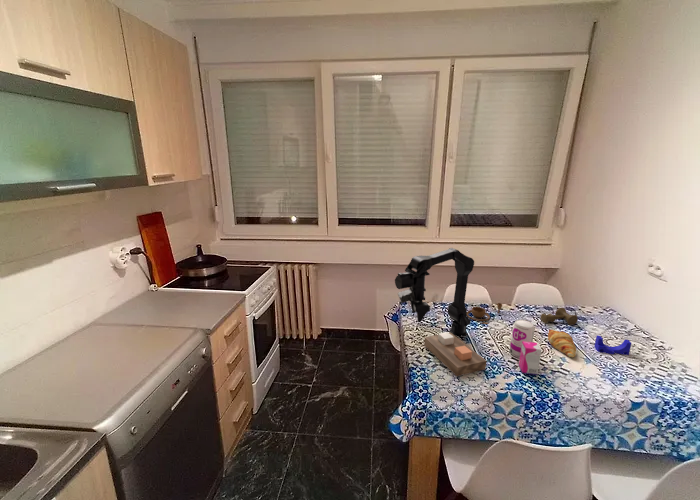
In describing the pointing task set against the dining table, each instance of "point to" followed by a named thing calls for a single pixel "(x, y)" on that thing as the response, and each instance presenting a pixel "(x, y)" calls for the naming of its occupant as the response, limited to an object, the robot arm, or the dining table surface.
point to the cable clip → (620, 349)
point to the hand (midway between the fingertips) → (416, 317)
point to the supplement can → (521, 336)
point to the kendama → (559, 317)
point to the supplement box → (530, 358)
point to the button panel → (453, 362)
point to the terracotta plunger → (463, 353)
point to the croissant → (562, 342)
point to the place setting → (481, 313)
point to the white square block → (445, 338)
